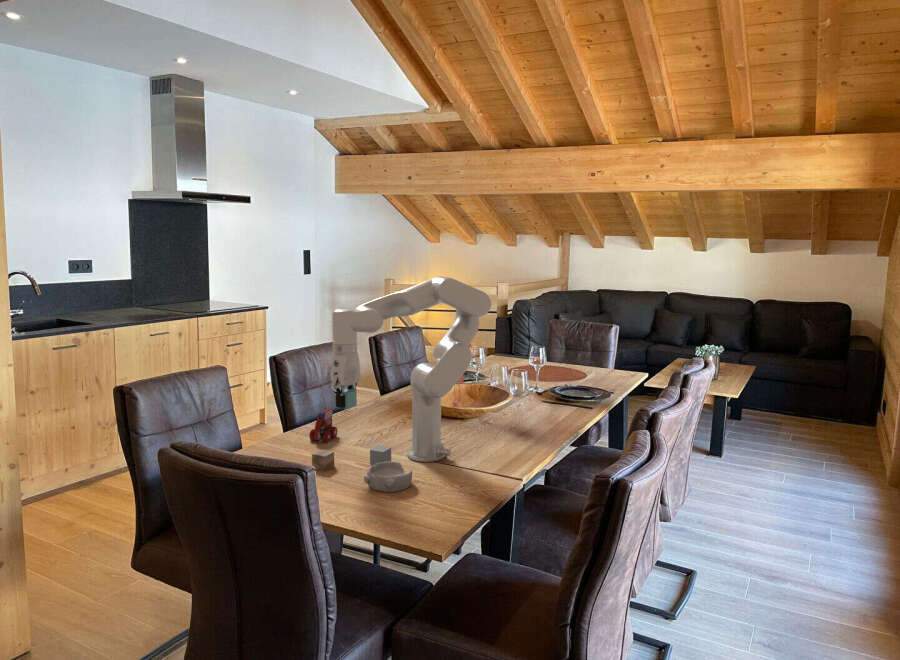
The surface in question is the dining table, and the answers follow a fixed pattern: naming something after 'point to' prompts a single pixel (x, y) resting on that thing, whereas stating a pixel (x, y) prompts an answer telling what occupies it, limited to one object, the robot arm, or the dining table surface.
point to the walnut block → (323, 460)
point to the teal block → (348, 398)
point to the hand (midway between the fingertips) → (345, 404)
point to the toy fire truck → (324, 427)
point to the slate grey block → (380, 455)
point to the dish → (388, 477)
